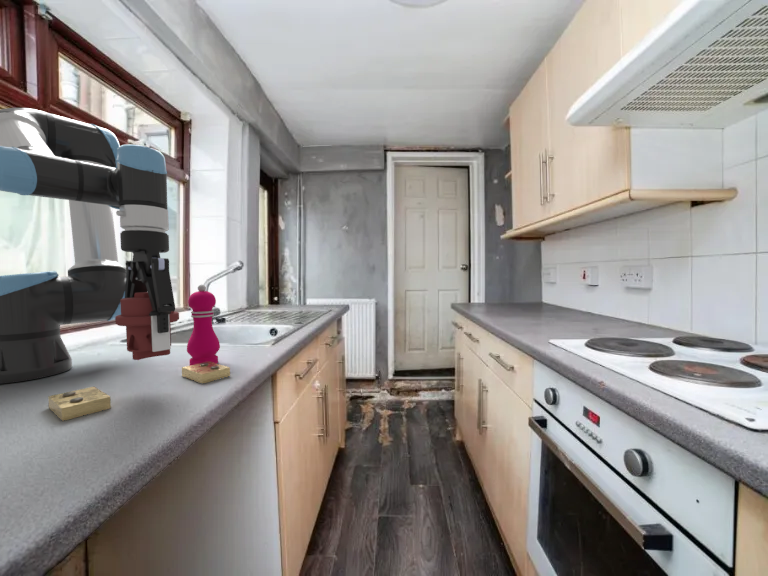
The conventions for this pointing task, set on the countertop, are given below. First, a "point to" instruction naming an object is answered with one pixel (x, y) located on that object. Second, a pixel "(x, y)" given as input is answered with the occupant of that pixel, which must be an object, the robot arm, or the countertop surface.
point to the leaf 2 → (205, 372)
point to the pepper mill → (202, 328)
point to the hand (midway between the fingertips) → (149, 346)
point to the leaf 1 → (79, 403)
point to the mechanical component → (140, 325)
